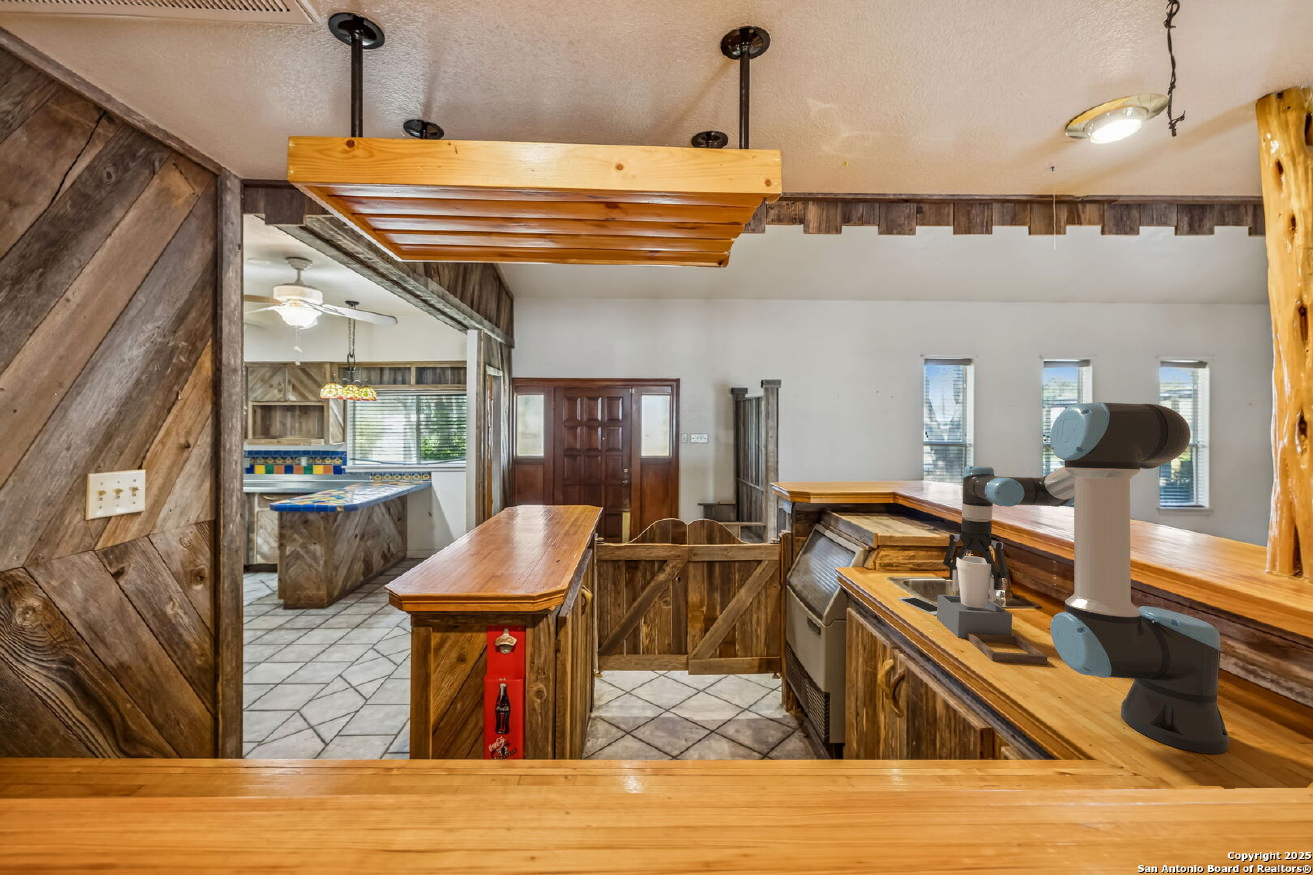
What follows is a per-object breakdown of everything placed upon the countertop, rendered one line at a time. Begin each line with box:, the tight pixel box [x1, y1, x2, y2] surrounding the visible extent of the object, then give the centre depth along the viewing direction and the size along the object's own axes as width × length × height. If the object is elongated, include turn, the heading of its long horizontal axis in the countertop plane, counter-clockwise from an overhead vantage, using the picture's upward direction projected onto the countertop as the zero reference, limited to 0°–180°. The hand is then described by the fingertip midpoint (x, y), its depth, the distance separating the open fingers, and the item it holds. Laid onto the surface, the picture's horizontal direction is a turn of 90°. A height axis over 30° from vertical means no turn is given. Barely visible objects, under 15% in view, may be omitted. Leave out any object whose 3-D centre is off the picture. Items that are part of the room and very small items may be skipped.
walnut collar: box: [966, 632, 1048, 665], centre depth 138 cm, size 13×13×2 cm
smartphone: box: [896, 595, 937, 617], centre depth 171 cm, size 7×15×1 cm, turn 19°
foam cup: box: [956, 555, 993, 608], centre depth 152 cm, size 10×9×13 cm
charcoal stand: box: [936, 594, 1013, 639], centre depth 152 cm, size 14×14×8 cm
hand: (973, 595), depth 152 cm, fingers closed on foam cup, 9 cm apart
